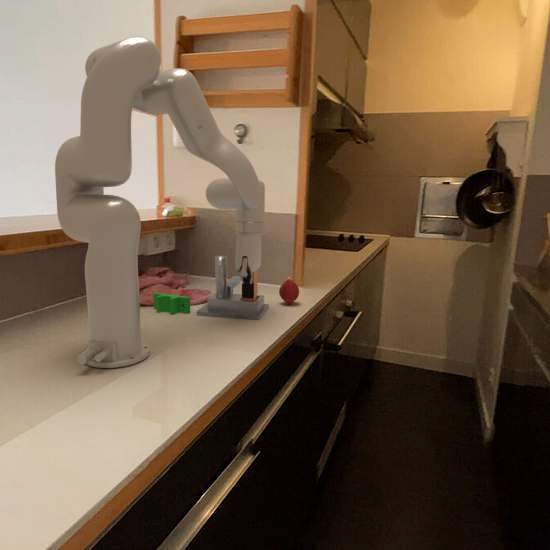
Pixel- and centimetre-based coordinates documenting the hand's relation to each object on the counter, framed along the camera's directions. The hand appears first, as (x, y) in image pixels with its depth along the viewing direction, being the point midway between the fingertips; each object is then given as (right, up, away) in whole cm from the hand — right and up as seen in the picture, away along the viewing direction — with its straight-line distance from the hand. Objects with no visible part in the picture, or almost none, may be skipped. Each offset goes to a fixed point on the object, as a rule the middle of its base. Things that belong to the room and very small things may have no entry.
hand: (249, 295), depth 116 cm
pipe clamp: (-22, -5, +1) cm, 22 cm away
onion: (+11, -3, +10) cm, 15 cm away
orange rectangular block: (0, -2, 0) cm, 2 cm away
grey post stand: (-3, -3, +6) cm, 8 cm away
